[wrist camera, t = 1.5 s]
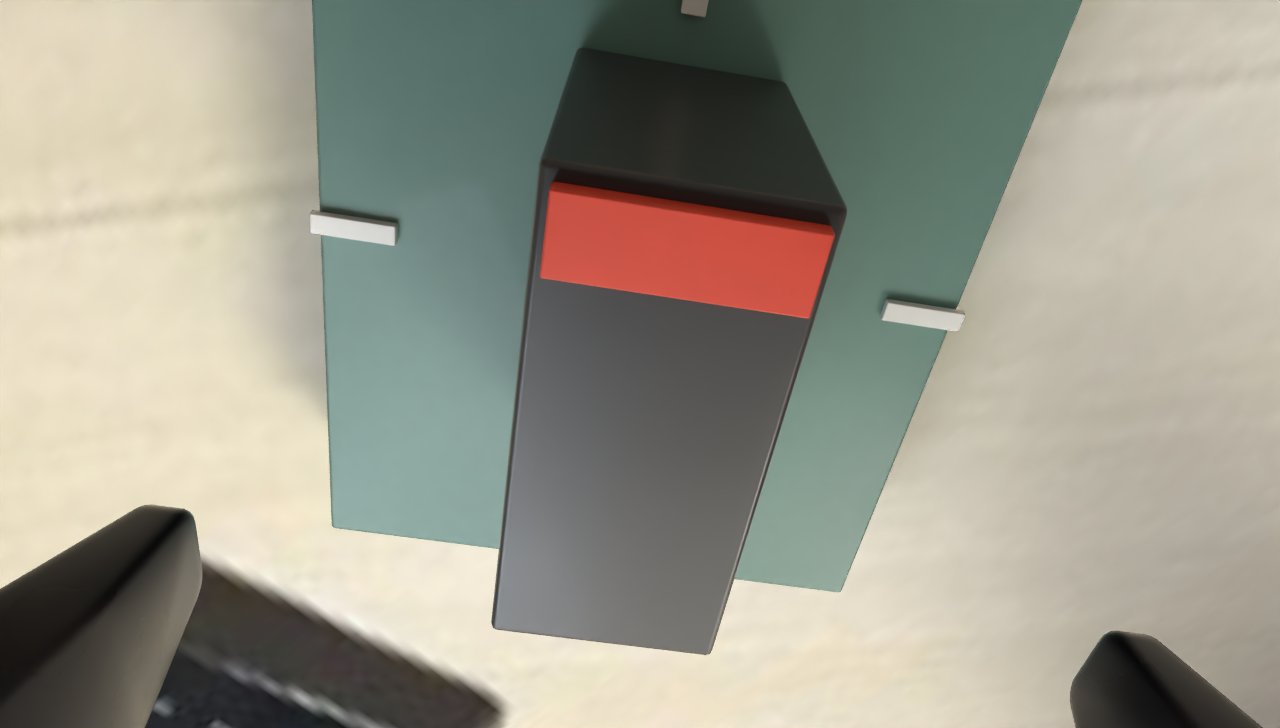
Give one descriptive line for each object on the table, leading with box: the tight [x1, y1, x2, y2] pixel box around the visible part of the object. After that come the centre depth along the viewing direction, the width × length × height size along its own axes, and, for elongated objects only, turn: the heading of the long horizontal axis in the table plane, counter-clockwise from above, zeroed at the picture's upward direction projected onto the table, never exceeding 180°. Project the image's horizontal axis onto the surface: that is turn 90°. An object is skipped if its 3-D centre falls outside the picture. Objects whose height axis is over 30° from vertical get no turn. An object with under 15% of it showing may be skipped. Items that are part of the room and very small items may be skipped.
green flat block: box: [310, 0, 1082, 592], centre depth 16 cm, size 14×11×3 cm
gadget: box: [492, 48, 848, 655], centre depth 13 cm, size 7×3×5 cm, turn 171°
